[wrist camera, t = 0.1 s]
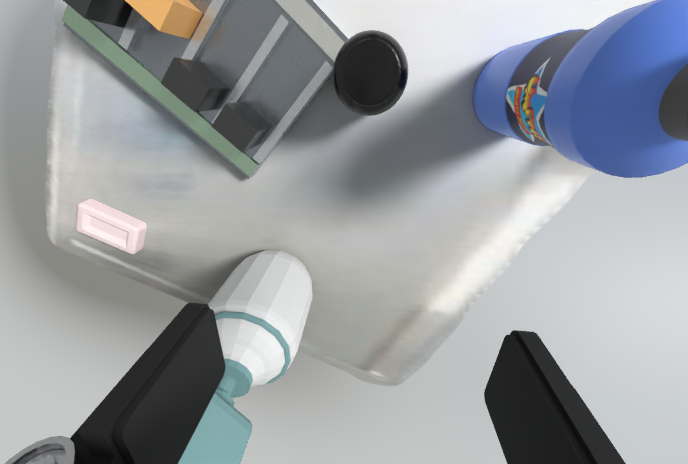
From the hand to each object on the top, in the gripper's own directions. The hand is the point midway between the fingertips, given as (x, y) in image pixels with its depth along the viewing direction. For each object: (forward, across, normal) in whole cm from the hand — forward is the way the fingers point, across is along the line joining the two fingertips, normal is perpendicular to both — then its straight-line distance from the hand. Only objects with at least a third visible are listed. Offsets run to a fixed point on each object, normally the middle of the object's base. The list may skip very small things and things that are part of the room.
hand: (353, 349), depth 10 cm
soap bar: (+32, +38, +13) cm, 51 cm away
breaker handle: (+29, +21, -14) cm, 38 cm away
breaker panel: (+31, +18, -12) cm, 38 cm away
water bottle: (+31, -16, -8) cm, 36 cm away
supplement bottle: (+31, 0, -9) cm, 33 cm away
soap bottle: (+31, +13, +20) cm, 39 cm away
